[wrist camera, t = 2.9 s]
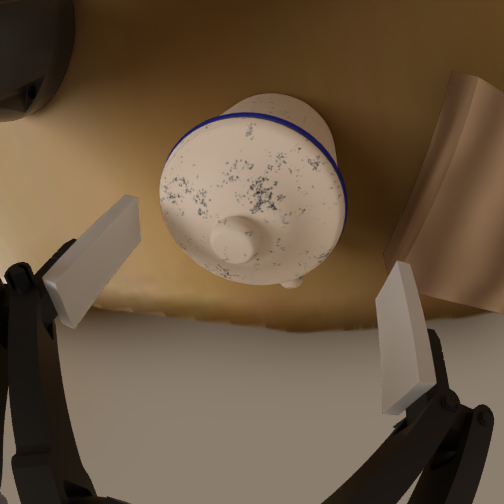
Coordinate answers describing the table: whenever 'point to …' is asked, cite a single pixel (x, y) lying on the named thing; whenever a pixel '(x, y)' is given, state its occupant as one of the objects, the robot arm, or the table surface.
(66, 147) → the table surface
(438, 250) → the wooden square block
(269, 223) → the teacup with lid
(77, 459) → the robot arm
